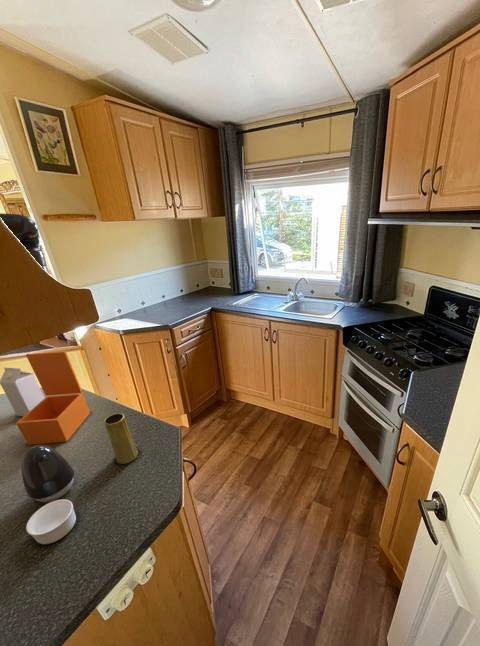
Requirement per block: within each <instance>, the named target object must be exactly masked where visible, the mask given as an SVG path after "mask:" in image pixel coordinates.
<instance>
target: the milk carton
mask: <svg viewBox="0 0 480 646" xmlns="http://www.w3.org/2000/svg"><path fill="white" fill-rule="evenodd" d="M3 369H4V372H3V374H2V375H1V378H0V386H1V388H2V390H3V392H4V394H5V395H6V398H7V399H8V400H9V404H10V405H11V407H12V409H13V411H14V413H15V414H16V417H24V416H25V415H26V414H27V413H28V412H30V411H31V410H32V409H33V408H34V407H35V406H36V405H38V404H39V403H40V402H41V401H42V400H43V399H44V398H45V396H44V393H43V392H42V388H40V387H41V386H40V384H39V382H38V380H37V378H36V376H35V373H32V372H28V371H22V369H21V368H19V367H7V366H6V367H3Z"/></svg>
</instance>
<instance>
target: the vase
mask: <svg viewBox="0 0 480 646" xmlns="http://www.w3.org/2000/svg"><path fill="white" fill-rule="evenodd" d="M103 425H104V426H105V429H106V432H107V434H108V437H109V441H110V444H111V447H112V449H113V453H114V455H115V461H116V463H117V464H121V465H125V464H129V463H131V462H133V461H134V460H135V459H136V458H137V457H138V455H139V451H138V448H137V446H136V444H135V442H134V439H133V437H132V434H131V431H130V429H129V425H128V422H127V420H126V416H125V414H124V413H121V412H115V413H112V414H110V415H108V416H106V417H105V418H104V420H103Z"/></svg>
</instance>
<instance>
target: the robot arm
mask: <svg viewBox="0 0 480 646" xmlns="http://www.w3.org/2000/svg"><path fill="white" fill-rule="evenodd" d="M0 217H1V218H2V220H3V221H4V223H5V224H6V225H7V226H8V228H9V229H10V230H11V231H12V232H13V234H14V235H15V236H16V237H17V238H18V239H19V240H20V242H21V243H22V244H23V245H24V246H25V247H26V249H27V250H28V251H29V252H30V254H31V255H32V256H33V257H34V258H35V260H36V261H37V262H38V263H39V264H40V265H41V266H42V268H43V269H44V270H45V271H47V272H48V273H49V274H50V271H49V268H48V265H47V261H46V257H45V254H44V251H43V248H42V244H41V239H40V238H41V237H40V233H39V228H38V225H37V223H36V222H35V220H34V219H32V218H31V217H29V216H27V215H24V214H19V213H0Z"/></svg>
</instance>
